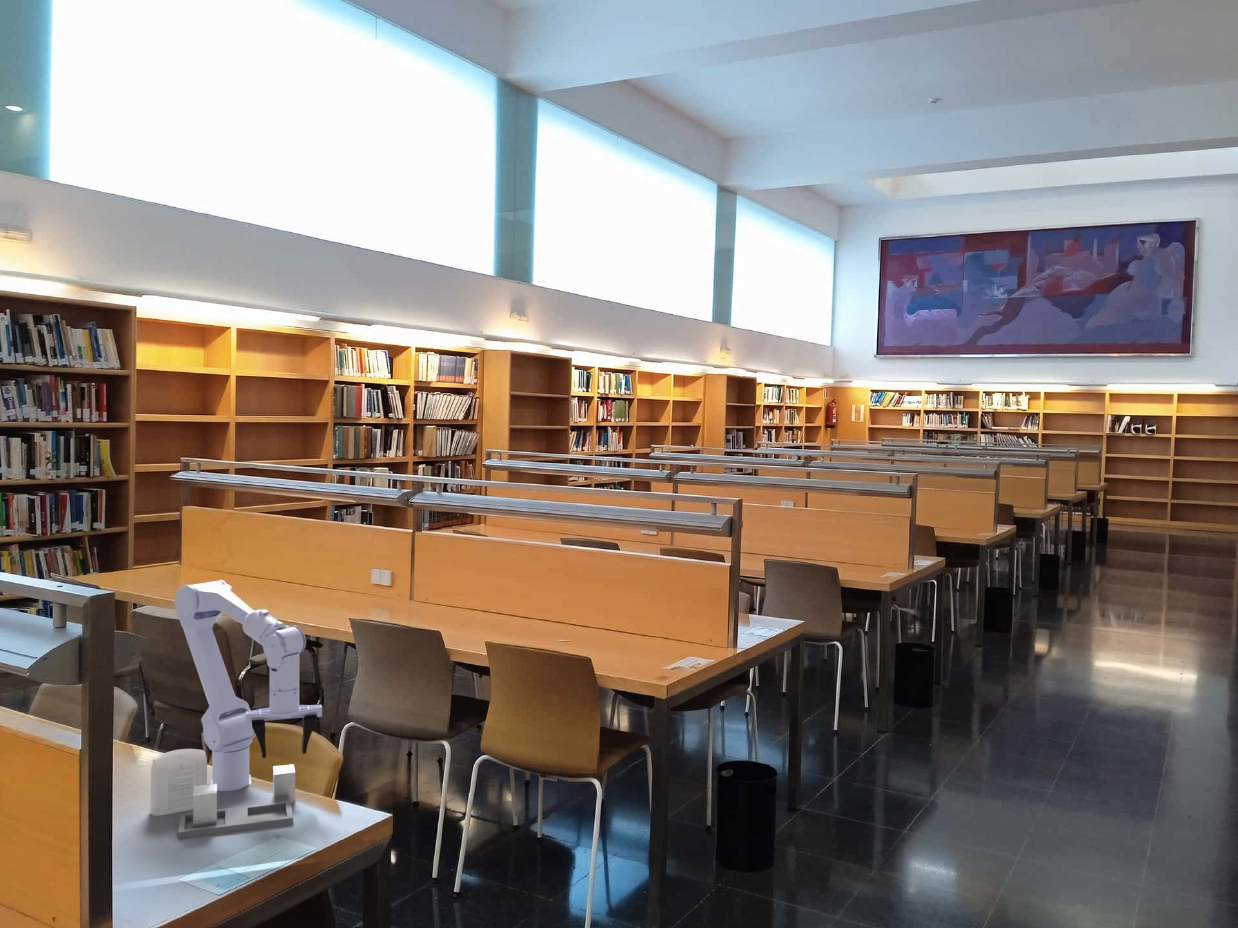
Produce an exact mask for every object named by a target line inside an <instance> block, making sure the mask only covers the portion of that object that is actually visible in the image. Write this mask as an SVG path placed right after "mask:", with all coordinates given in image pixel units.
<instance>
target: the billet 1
mask: <svg viewBox="0 0 1238 928" xmlns="http://www.w3.org/2000/svg"><path fill="white" fill-rule="evenodd" d="M217 810H218V791H217V784H211V783H210V784H207V785H200V786H194V793H193V810H192V813H193V828H201V827H209V826H217Z"/></svg>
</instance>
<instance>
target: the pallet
mask: <svg viewBox="0 0 1238 928" xmlns="http://www.w3.org/2000/svg"><path fill="white" fill-rule="evenodd" d="M292 809H293V807H292V803H291V801H284V802H276V803H274V802H268V803H261V804H253V805H252V804H251V805H244V806H236V807H229V808H220V809H218V808H217V826H209V827H201V828H193V812H186V813H180V814H179V820H178V821H179V822H178V827H177V829H178V830H177V840H182V839H190V838H196V837H205V836H213V835H214V836H215V835H221V834H229V833H230V834H231V833H235V832H236V833H237V832H245V831H252V830H253V831H254V830H260V829H268V828H275V827H284V826H289V825H294V815H293V810H292Z"/></svg>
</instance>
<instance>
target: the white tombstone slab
mask: <svg viewBox="0 0 1238 928" xmlns="http://www.w3.org/2000/svg"><path fill="white" fill-rule="evenodd" d="M207 758H208V757H207V755H206V752H205V750H204V749H198V748H197V749H196V748H182V749H174V750H171V751H167V752H165V753H162V754H159V755H157V756H155V757H153V759H152V764H151V765H150V802H149V803H150V806H149V807H150V808H149V809H150V811H149V813H150V815H151V816H154V817H158V816H165V815H166V816H167V815H172V814H176V813H182V812H188V811H193V793H194V786H200V785H208V760H207Z"/></svg>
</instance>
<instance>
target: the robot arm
mask: <svg viewBox="0 0 1238 928" xmlns="http://www.w3.org/2000/svg"><path fill="white" fill-rule="evenodd" d="M173 605H174V608H175V611H176V613H177V616H178V620H179V623H180V627H182V629H183V633H184V635H185V639H186V641H187V644H188V648H189V650H190V652H191V653H190V654H191V656H192V658H193V662H194V666H195V668H196V671H197V674H198V678H199V680H200V683H201V685H202V689H203V692H204V694H205V698H206V700H207V703H208V707H207V710H205V713H204V714H203V715H202V717H201V719H200V721H201V723H202V728H203V729H202V730H203V735H202V736H203V740H204V743H205V744H206V746H207V747H208V748H209V750H210V751H212V755H211V756H212V762H211V763H212V767H211V768H212V769H211V770H212V774H211V775H212V777H211V779H210V784H217V792H218V791H219V792H233V791H238V790H241V789H244V788H246V787H248V786H249V785H252V775H251V774H250V745H251V744H253V738H255V737H256V738H257V740H258V743H259V746H260V750H261V758H262V759H265V758H267V751H266V750H267V749H266V748H267V747H266V722H267V721H276V720H277V721H278V720H285V719H287V720H288V719H299V718H302V738H301V739H302V741H301V751H302V752H301V753H302V755H303V754H304V755H305V754H307V750H308V744H309V742H310V738H311V736H312V733H313V731H314V729H315V727H316V724H317V722H318V719H317V718H319V717H320V718H321V717H323V707H322V704H311V705H310V704H308V705H307V704H300V654H301V653H303V652H304V651H305V648H306V646H307V645H306V644H307V639H306V634H305V633H304V631H303V630H302V629H301V628H300V627H299V626H298V625H290V626H289V625H285V623H284V622H282V621H280V620H278V619H277V618H275V617H274V616H273V615H271V614H270V612H269V611H268V610H267V609H256V610H254V609H253V608H252V607H250V606H249V605H248V604H247V603H245V602H244V601H243V600H242V599H241V598H240V597H238V596H237V595H236V594H235V593H234V591H233V586H232V585H230V584H227V582H226V581H224V580H223V579H216V580H214V581H207V582H201V583H196V584H184V585H181V586H180V587H179V588H178V590H177V592H176V595H175V597H174V601H173ZM223 614H224V615H226V616H228V617H229V618H230V619H233V620H234V621H236V622H237V623H240V625H242V631H243V632H244V634H245V635H247V636H248V637H250V638H251V639H252V640H254V641H255V642H256V643H258V644H259V645H261V646H262V649H263V652H264V655H265V656H266V665H267V667H269V707H266V708H259V709H255V710H251V708H250V705H249V703H248V702H247V701H245V700H244V699H241V698H240V697H238V696H236V693H235V691H234V689H233V685H232V682H231V680H230V679H231V678H230V677H229V674H228V670H227V668H226V665H225V663H224V660H223V656H222V654H221V652H220V651H221V649H220V648H219V645H218V642H217V639H216V636H215V633H214V631H213V627H214V626H215V625H214V624H215V623H216V622H218V621H219V619H220V618H221V617H222V615H223Z"/></svg>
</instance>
